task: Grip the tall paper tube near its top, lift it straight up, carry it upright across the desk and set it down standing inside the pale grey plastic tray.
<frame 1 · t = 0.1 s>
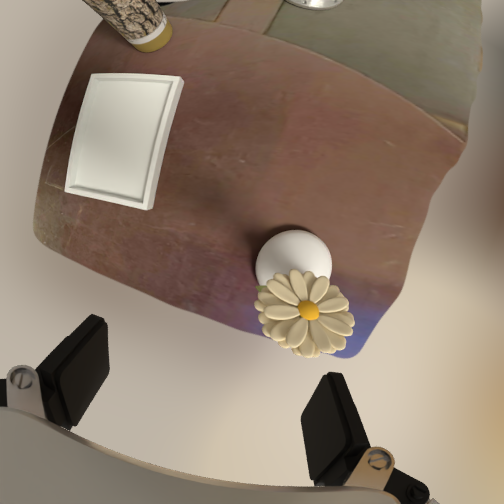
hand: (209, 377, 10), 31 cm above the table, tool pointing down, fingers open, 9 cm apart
flower in vase: (288, 261, 42), on the table
tray: (121, 136, 36), on the table
paper tube: (154, 37, 32), on the table
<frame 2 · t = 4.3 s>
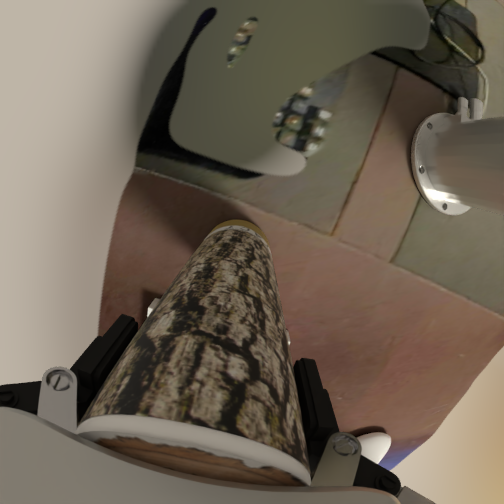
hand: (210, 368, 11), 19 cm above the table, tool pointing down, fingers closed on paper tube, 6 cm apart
flower in vase: (358, 443, 39), on the table
paper tube: (237, 249, 29), on the table, touching gripper
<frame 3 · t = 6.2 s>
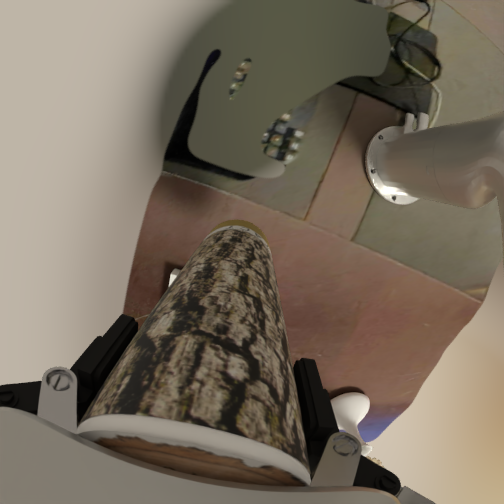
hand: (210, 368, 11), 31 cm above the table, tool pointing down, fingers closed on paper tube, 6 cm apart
flower in vase: (340, 404, 51), on the table
paper tube: (237, 249, 29), point 12 cm above the table, touching gripper
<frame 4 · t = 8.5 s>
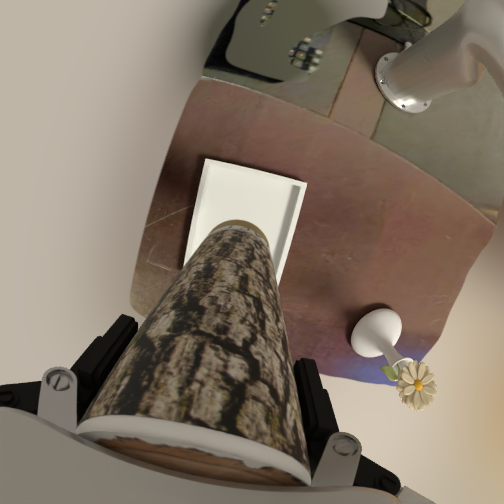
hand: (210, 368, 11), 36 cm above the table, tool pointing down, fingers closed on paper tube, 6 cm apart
flower in vase: (371, 327, 51), on the table
tray: (241, 229, 46), on the table
paper tube: (237, 249, 29), point 17 cm above the table, touching gripper
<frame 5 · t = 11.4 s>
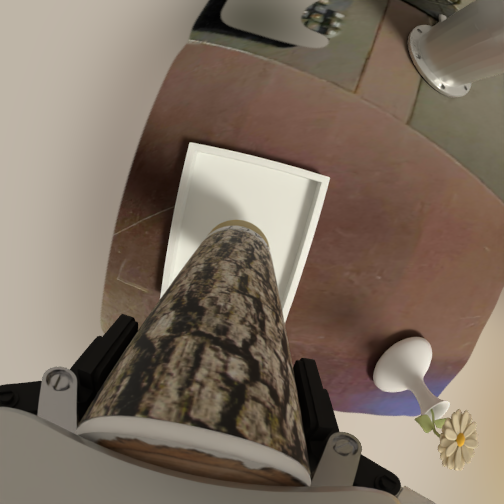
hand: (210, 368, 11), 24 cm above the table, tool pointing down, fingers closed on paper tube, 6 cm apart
flower in vase: (396, 357, 39), on the table
tray: (239, 239, 34), on the table
paper tube: (237, 249, 29), point 5 cm above the table, touching gripper
when the fingers open (21 cm above the table, at t = 12.8 s): paper tube drops 2 cm, resting on tray.
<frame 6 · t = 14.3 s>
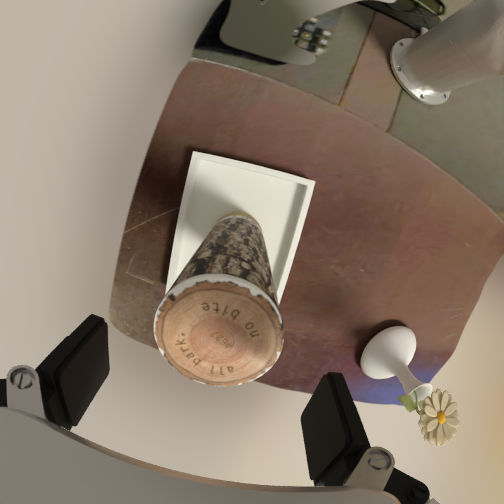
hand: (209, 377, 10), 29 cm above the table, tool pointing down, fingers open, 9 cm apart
flower in vase: (382, 346, 44), on the table
tray: (236, 236, 38), on the table
paper tube: (237, 235, 38), resting on tray
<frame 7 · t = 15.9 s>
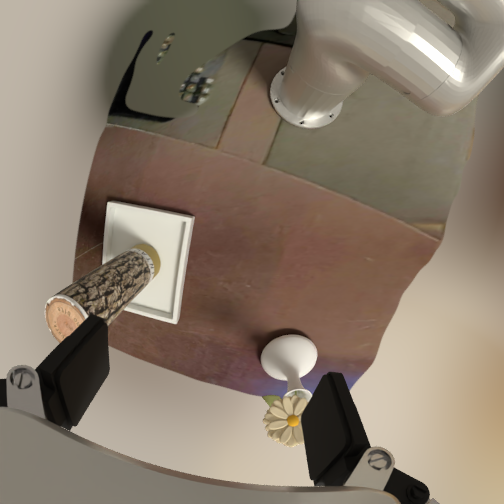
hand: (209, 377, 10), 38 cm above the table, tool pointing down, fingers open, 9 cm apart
flower in vase: (285, 351, 53), on the table
tray: (145, 261, 48), on the table
paper tube: (145, 260, 48), resting on tray
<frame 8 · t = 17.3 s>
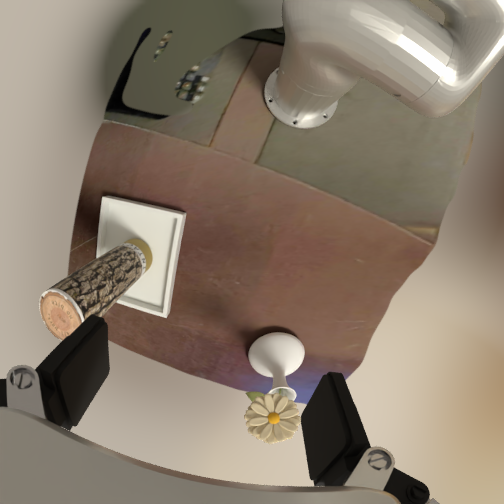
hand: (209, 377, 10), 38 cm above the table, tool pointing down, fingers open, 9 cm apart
flower in vase: (273, 348, 54), on the table
tray: (137, 255, 49), on the table
paper tube: (137, 255, 49), resting on tray
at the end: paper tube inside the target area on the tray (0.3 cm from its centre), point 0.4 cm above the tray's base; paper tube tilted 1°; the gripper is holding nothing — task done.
